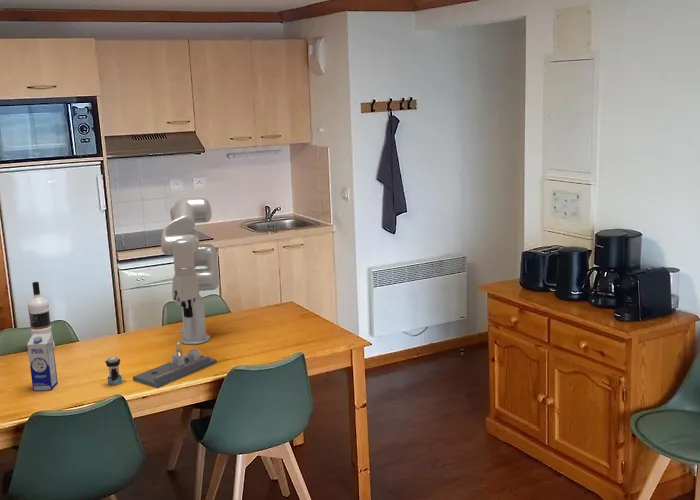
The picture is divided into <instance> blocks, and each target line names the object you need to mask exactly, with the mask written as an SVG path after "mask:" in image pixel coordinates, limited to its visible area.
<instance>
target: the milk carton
mask: <svg viewBox="0 0 700 500" xmlns="http://www.w3.org/2000/svg"><path fill="white" fill-rule="evenodd" d="M52 336H53V333H52V334H33V336H32V335H31V337H30V338H29V340H28V342H27V344H26V346H27V352H28V353H27V354H28V361H29V368H30V375H31V381H32V382H31V383H32V384H31V385H32V392H43V391H44V392H45V391H53V390H54V388H55V387H57V385H58V384H59V382H58V373H57V363H56V357H55V347H54V348H53V341H54V338H53V339H52Z"/></svg>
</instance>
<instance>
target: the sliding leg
mask: <svg viewBox="0 0 700 500" xmlns="http://www.w3.org/2000/svg"><path fill="white" fill-rule="evenodd" d="M175 350H176V352H175V353H173V354H171V357H172V361H173V362H172V361H168V363H170V366H171V364H173V369H177V368H179V367H182V366H184V365H185V362H184V357H186V356H187V355H188V354H185V353H183V350H182V342H181V341H176V342H175Z"/></svg>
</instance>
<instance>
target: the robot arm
mask: <svg viewBox="0 0 700 500" xmlns="http://www.w3.org/2000/svg"><path fill="white" fill-rule="evenodd" d="M169 214H170V219H171V221H170V222H169V223H168V224H167V225H166V226H165V227H164V228H163V229H162V232H161V237H160V238H161V239H160V241H161V242H160V248H161V251H162V253H163V254H164V255H167V256H172V257H173V265H174V275H173V277H172V285H171V286H172V287H171V289H172V293H171V294H172V300H173V301H175V302H174V303H175V305H176V306H180V307H181V315H182V327H181V329H180V330H179V334H181V335H182V337H180V342H181V344H185V345H200V344H204V343H206V342H209V341H210V340H211V336H210V335H209V334H208V333H207V330H206V329H207V327H206V316H205V304H204V298H203V297H202V296H201V295H200V292H205V291H207V292H208V291H214V290H216V289H218V288H219V285H220V284H219V283H220V279H219V278H220V277H219V276H220V275H219V265H218V264H219V263H218V254H217V249H216V247H215V245H213V244H210V243H202V244H200V240H199V233H198V232H197V231H196V229H195V227H196V224H202V223H209V222H210V221H211V219H212V215H213V214H212V208H211V204H210V202H209V200H208V199H207V198H205V197H189V198H181V199H178V200H177V201H176V202H175V204H174V205H173V206H172V207H170V211H169ZM197 267H207V268H197Z"/></svg>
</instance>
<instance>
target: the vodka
mask: <svg viewBox="0 0 700 500" xmlns="http://www.w3.org/2000/svg"><path fill="white" fill-rule="evenodd" d="M31 285H32V292H33V298H31V299H30V300H29V301H28V302H27V305H26V306H27V311H28V316H29V317H28V318H29V324H30V333H31V337H32V336H33V334H52V339H53V348H54V349H55V347H56V345H55V341H54V338H53V332H52V331H53V330H52V325H51V324H52V323H51V316H50V304H49V303H50V302H49V301H48V299H47V298H44V297H42V296H41V292H40V291H41V290H40V283H39V281H33V282H32V283H31Z"/></svg>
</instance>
